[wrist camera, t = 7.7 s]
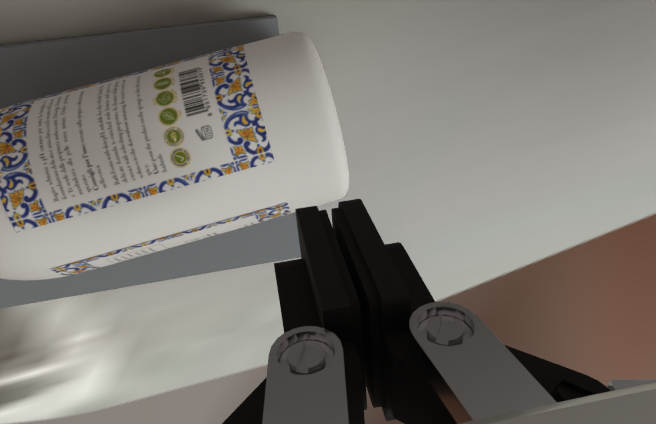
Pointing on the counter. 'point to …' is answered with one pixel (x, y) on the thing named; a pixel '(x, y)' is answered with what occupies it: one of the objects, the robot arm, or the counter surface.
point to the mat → (111, 62)
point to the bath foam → (166, 157)
